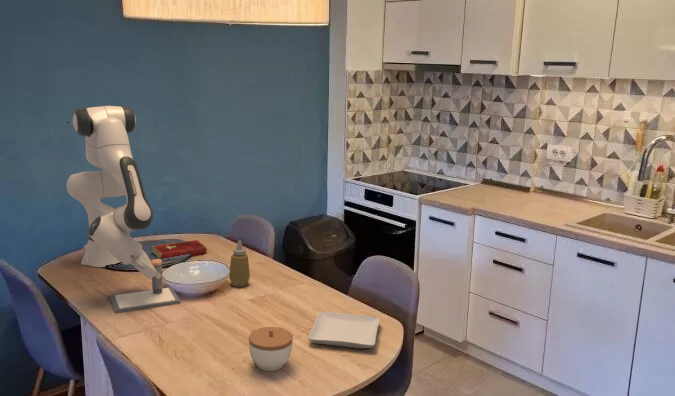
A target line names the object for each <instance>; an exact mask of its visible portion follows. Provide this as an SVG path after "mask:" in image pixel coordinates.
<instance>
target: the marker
mask: <svg viewBox="0 0 675 396" xmlns="http://www.w3.org/2000/svg"><path fill="white" fill-rule="evenodd" d="M150 261H151V263H152V264H153V266H154V267H155V269H156V271H157V272H159V273H160V274H161V275H162V276H161V277H160V279H158V278H156V277H155V276H153V278H152V279H151V287H152V290H153V293H161V292H162V288H164V287H163V286H164V285H163V261H162V260H161V259H158V258H153V259H150Z"/></svg>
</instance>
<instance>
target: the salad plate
mask: <svg viewBox="0 0 675 396" xmlns="http://www.w3.org/2000/svg"><path fill="white" fill-rule="evenodd" d="M380 323H381V317H378V316H370V315H362V314H355V313H354V314H352V313H344V312H343V313H342V312H333V311H332V312H330V311H319V313H318V314H317V317H316V319H315V321H314V324H313V325H312V328H311V330H310V331H309V334H308V336H307V339H308V341H311V342H312V343H315V344H317V345H318V344H321V345H325V344H326V346H333V345H336V346H335V347H342V346H346V347H345V348H352V347H357V348H356V349H370V348H374V346H375V345H376V340H377V335H378V334H377V333H378V328H379V327H380Z"/></svg>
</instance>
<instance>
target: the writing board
mask: <svg viewBox="0 0 675 396" xmlns="http://www.w3.org/2000/svg"><path fill="white" fill-rule="evenodd" d="M170 287H171V286H168V287H163V288H162V292H161V293H153V289H146V290H139V291H134V292H133V291H132V292H125V293H118V294H111V295H109V299H110V301H111V304H112V307H113V310H114V313H115V314H119V313H121V314H122V313H125V312H132V311H139V310H146V309H153V308H159V307H166V306H172V305H178V304H181V299H180V298H179V296H178V293H176V291H175V290H174V288H173V287H172V288H173V289H172V288H170Z"/></svg>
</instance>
